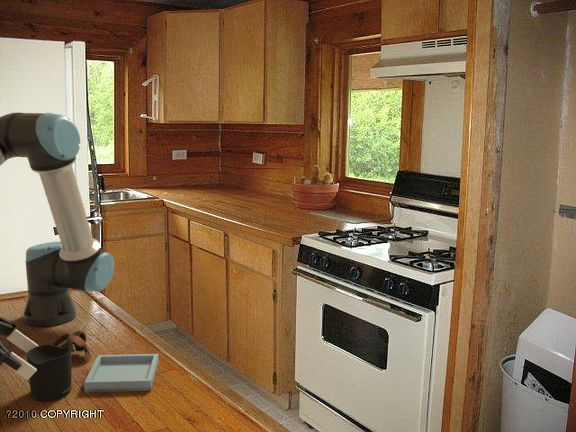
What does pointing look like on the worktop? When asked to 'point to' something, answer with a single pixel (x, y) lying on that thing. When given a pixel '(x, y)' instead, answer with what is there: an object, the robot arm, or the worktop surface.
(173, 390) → the worktop surface
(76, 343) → the brown hollow rounded piece
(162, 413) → the worktop surface
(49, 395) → the pen holder
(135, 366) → the tray
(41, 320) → the robot arm
